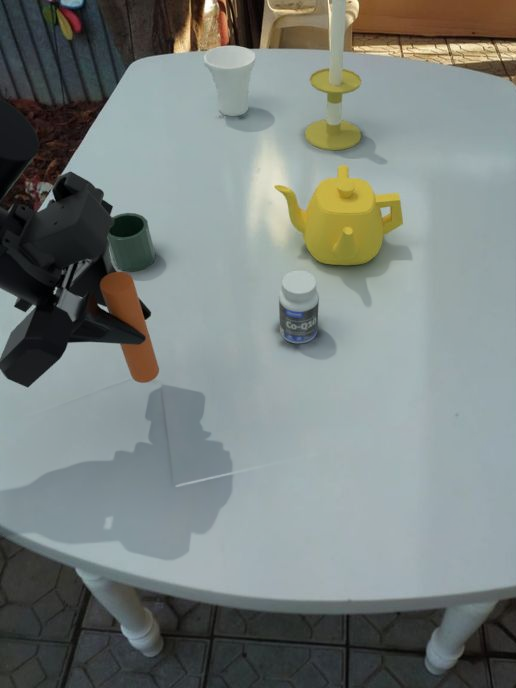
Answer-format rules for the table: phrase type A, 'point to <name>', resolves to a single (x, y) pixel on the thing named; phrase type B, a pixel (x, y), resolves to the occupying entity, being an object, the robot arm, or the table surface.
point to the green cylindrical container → (131, 242)
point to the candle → (334, 91)
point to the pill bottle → (298, 307)
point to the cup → (231, 77)
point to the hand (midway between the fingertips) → (146, 328)
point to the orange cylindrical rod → (128, 309)
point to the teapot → (344, 219)
